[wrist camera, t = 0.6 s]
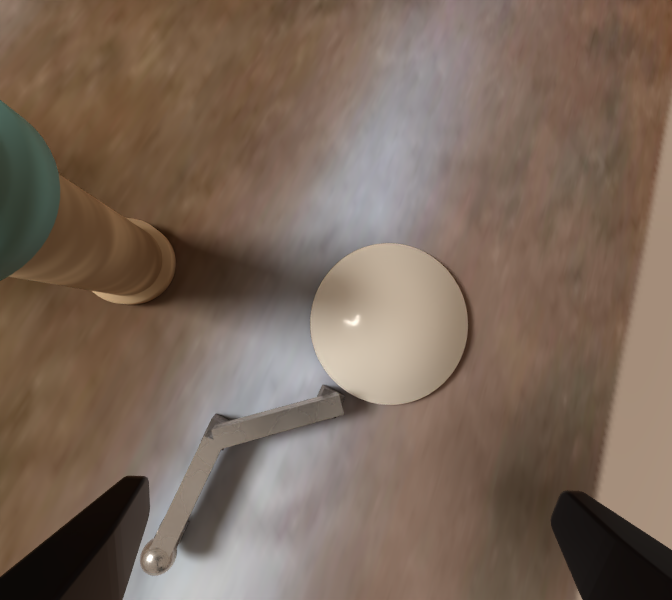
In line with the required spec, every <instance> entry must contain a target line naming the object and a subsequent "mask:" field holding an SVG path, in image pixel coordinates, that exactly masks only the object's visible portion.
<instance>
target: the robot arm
mask: <svg viewBox="0 0 672 600" xmlns="http://www.w3.org/2000/svg"><path fill="white" fill-rule="evenodd" d="M149 512H150V498H149V481H148V478H147V477H145V476H126V477H124V478H122V479H121V480H120V481H119V482H117V483H116V484H115V485H114V486H112V487H111V488H110V489H109V490H107V491H106V492H105V493H104V494H102V495H101V496H100V497H99V498H97V499H96V500H95V501H94V502H92V503H91V504H90V505H89V506H88V507H86V508H85V509H84V510H83V511H81V512H80V513H79V514H78V515H76V516H75V517H74V518H73V519H71V520H70V521H69V522H68V523H66V524H65V525H64V526H63V527H61V528H60V529H59V530H58V531H57V532H55V533H54V534H53V535H52V536H50V537H49V538H48V539H47V540H45V541H44V542H43V543H42V544H40V545H39V546H38V547H37V548H35V549H34V550H33V551H32V552H30V553H29V554H28V555H27V556H26V557H24V558H23V559H22V560H21V561H19V562H18V563H17V564H16V565H14V566H13V567H12V568H11V569H9V570H8V571H7V572H6V573H4V574H3V575H2V576H1V577H0V600H123V597H124V594H125V591H126V587H127V584H128V581H129V578H130V575H131V572H132V568H133V565H134V562H135V559H136V556H137V553H138V549H139V546H140V543H141V540H142V537H143V534H144V531H145V527H146V524H147V521H148V517H149ZM551 526H552V529H553V532H554V534H555V537H556V539H557V541H558V544H559V546H560V548H561V551H562V553H563V555H564V558H565V560H566V562H567V565H568V567H569V570H570V572H571V574H572V577H573V579H574V581H575V584H576V586H577V588H578V591H579V593H580V595H581V597H582V599H583V600H672V550H671V549H669V548H668V547H666V546H665V545H663V544H662V543H660V542H659V541H657V540H656V539H654V538H652V537H651V536H650V535H648V534H646V533H645V532H643V531H642V530H640V529H639V528H637V527H635V526H634V525H632V524H631V523H630V522H628V521H627V520H625V519H624V518H622V517H620V516H619V515H617V514H616V513H614V512H613V511H611V510H610V509H608V508H607V507H605V506H604V505H602V504H600V503H599V502H598V501H596V500H595V499H593V498H592V497H590V496H588V495H587V494H585V493H584V492H581V491H563V492H562V493H561V494H560V496H559V498H558V501H557V503H556V506H555V508H554V511H553V513H552V516H551Z"/></svg>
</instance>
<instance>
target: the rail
mask: <svg viewBox="0 0 672 600" xmlns="http://www.w3.org/2000/svg"><path fill="white" fill-rule="evenodd" d="M344 398H345V397H344V396H343V394H342V393H340V392H337V391H335V390H333V389H331V388H329V387H326V386H324V385H322V387H321V389H320V391H319V393H318V396H317V397H315V398H311V399H308V400H304V401H300V402H297V403H293V404H289V405H286V406H282V407H278V408H275V409H271V410H267V411H264V412H260V413H256V414H253V415H249V416H245V417H242V418H238V419H234V420H229V419H227V418H225V417H222V416H220V415H218V414H215V415H214V416H213V418H212V419H211V421H210V423H209V425H208V427H207V429H206V431H205V434H204V436H203V438H202V440H201V443H200V445H199V448H198V450H197V452H196V454H195V456H194V458H193V460H192V462H191V464H190V466H189V468H188V470H187V472H186V474H185V476H184V479H183V481H182V483H181V485H180V487H179V489H178V491H177V493H176V495H175V497H174V499H173V501H172V503H171V505H170V508H169V510H168V512H167V514H166V516H165V518H164V519H163V521H162V523H161V525H160V527H159V529H158V531H157V533H156V535H155V537H154V538H153V539H152V540H150V541H149V542H148V543H147V544H146V545H145V547H144V548H143V550H142V553H141V557H140V564H141V567H142V569H143V571H144V572H145V573H147V574H148V575H151V576H158V575H161V574H163V573H165V572H166V571H168V570H169V569H170V568H171V567H172V565H173V563H174V562H175V559H176V556H177V546H178V544H179V542H180V540H181V538H182V536H183V534H184V532H185V530H186V527H187V525H188V523H189V521H188V518H189V516H190V514H191V512H192V510H193V508H194V505H195V503H196V501H197V499H198V497H199V495H200V493H201V491H202V489H203V487H204V484H205V482H206V480H207V478H208V476H209V474H210V472H211V470H212V468H213V466H214V463H215V461H216V459H217V457H218V455H219V453H220V451H221V450H223V449H224V448H227V447H230V446H234V445H237V444H241V443H244V442H248V441H251V440H255V439H259V438H262V437H266V436H269V435H273V434H276V433H280V432H283V431H287V430H291V429H294V428H298V427H301V426H305V425H308V424H312V423H315V422H319V421H323V420H326V419H330V418H336V417H337V416H340V415H344V413H343V409H342V402H343V400H344Z"/></svg>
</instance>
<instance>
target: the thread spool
mask: <svg viewBox="0 0 672 600" xmlns="http://www.w3.org/2000/svg"><path fill="white" fill-rule="evenodd" d="M175 268H176V258H175V253H174V250H173V248H172V245H171V244H170V242H169V241H168V239H167V238H166V237H165V236H164V235H163V234H162V233H161V232H159V231H158V230H157V229H155V228H154V227H152V226H151V225H149V224H148V223H146V222H143V221H141V220H137V219H133V218H125V217H123V216H122V215H120V214H119V213H117V212H116V211H114V210H113V209H111V208H109V207H108V206H106V205H105V204H103V203H102V202H100V201H99V200H97V199H96V198H94V197H93V196H91V195H90V194H88V193H87V192H85V191H84V190H82V189H81V188H79V187H78V186H76V185H74V184H73V183H71V182H70V181H68V180H67V179H65V178H64V177H62V176H61V175H59V174H58V170H57V166H56V163H55V160H54V158H53V156H52V153H51V151H50V149H49V147H48V146H47V144H46V143H45V141H44V139H43V138H42V137H41V136H40V134H39V133H38V132H37V131H36V129H35V128H34V127H33V126H32V125H30V124H29V123H28V122H27V121H26V120H25V119H24V118H23V117H21V116H20V115H19V114H17V113H16V112H15V111H14V110H12V109H11V108H10V107H9V106H7V105H6V104H5V103H3V102H2V101H1V100H0V281H1V280H2V279H4V278H6V277H8V276H9V277H14V278H20V279H26V280H32V281H38V282H44V283H49V284H55V285H61V286H67V287H73V288H79V289H84V290H90V291H92V292H93V293H95V294H96V295H97V296H99V297H101V298H103V299H104V300H107V301H110V302H114V303H120V304H129V305H136V304H142V303H146V302H148V301H151V300H153V299H155V298H157V297H158V296H159V295H161V294H162V293H163V292H164V291H165V290H166V289H167V287H168V286H169V285H170V283H171V281H172V279H173V277H174V273H175Z"/></svg>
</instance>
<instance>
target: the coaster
mask: <svg viewBox="0 0 672 600" xmlns="http://www.w3.org/2000/svg"><path fill="white" fill-rule="evenodd" d="M310 332H311V338H312V343H313V346H314V350H315V352H316V355H317V357H318V359H319V361H320V363H321V365H322V366H323V368H324V370H325V371H326V372H327V373H328V375H329V376H330V377H331V378H332V379H333V380H334V381H335V382H336V383H337V384H338V385H339V386H340V387H341V388H343V389H344V390H345V391H347V392H348V393H350V394H352V395H353V396H355V397H357V398H359V399H362V400H365V401H367V402H372V403H376V404H384V405H397V404H404V403H409V402H412V401H415V400H418V399H421V398H423V397H425V396H427V395H429V394H430V393H432V392H433V391H435V390H436V389H437V388H439V387H440V386H441V385H442V384H443V383H444V382H445V381H446V380H447V379H448V378H449V377H450V375H451V374H452V373H453V371H454V370H455V368H456V367H457V365H458V363H459V361H460V359H461V357H462V354H463V351H464V348H465V345H466V340H467V333H468V316H467V310H466V305H465V301H464V298H463V295H462V293H461V291H460V288H459V286H458V285H457V283H456V281H455V280H454V278H453V277H452V275H451V274H450V273H449V271H448V270H447V269H446V268H445V267H444V266H443V265H442V264H441V263H440V262H438V261H437V260H436V259H435V258H433V257H432V256H430V255H429V254H427V253H425V252H423V251H421V250H419V249H416V248H414V247H410V246H407V245H402V244H395V243H383V244H375V245H371V246H367V247H363V248H361V249H359V250H356V251H354V252H352V253H351V254H349V255H347V256H346V257H344V258H343V259H342V260H340V261H339V262H338V263H337V264H336V265H335V266H334V267H333V268H332V269H331V270H330V271H329V272H328V274H327V275H326V276H325V278H324V279H323V280H322V282H321V284H320V286H319V288H318V289H317V292H316V295H315V297H314V300H313V304H312V308H311V316H310Z"/></svg>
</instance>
